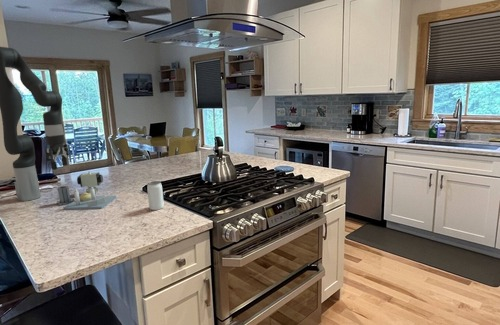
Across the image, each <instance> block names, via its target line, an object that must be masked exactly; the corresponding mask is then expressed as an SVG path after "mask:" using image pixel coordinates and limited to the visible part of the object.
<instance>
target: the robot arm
mask: <svg viewBox="0 0 500 325" xmlns="http://www.w3.org/2000/svg"><path fill="white" fill-rule="evenodd" d="M6 68H12V69H13V68H14V70H16V71H18V72H19V80H20V82H21V83H22V85H23V86H24V87H25V88H26V89H27V90H28V91H29V92H30V93H31V95H32V97H33V99H34V101H35V103H36V104H37V105H38V106H39V107H44V108H46V107H47V108H49V107H50V109H49V110H48V111H46V112H45V111H44V113H42V120H43V126H44V134H45V140H46V142H45V143H46V145H48V146H49V147H48V148H45V149H44V151H45V159H46V162H49V163H50V166H51V170H57V169H58V164H57V159H58V157H60V158H61V164H62V166H63V167H64V166H68V157H69V156H70V151H69V147H68V146H69V145H68V143H66V139H65V133H64V128H63V124H62V118H61V112H62V107H63V106H62V105H63V97H62V95H61V94H60V92H58V91H56V90H47V86H46V85H47V84H45V83H44V82H43V80H42V79H40V77H38V76H37V74H35V72H34V71H33V70H32V69H31V68H30V67H29V65H28V64H27V62H26V60H25V59H24V58H23V56H22V55H21V54H20V52H18V50H17V49H15V48H12V47H6V46H0V114H1V121H2V129H3V131H2V132H3V145H4V149H5V151H6V153H8V154H9V155H11V156H16V155H17V156H18V158H16V160H14V161H12V168H13V172H14V178H15V181H14V183H13V184H14V187H15V188H14V189H15V193H16V197H17V201H20V202H27V201H28V202H29V201H33V200H37V199H40V198H41V191H40V184H39V178H38V174H37V173H38V172H37V168H36V153H35V152H36V151H35V144H34V141H33V139H32V138H31V136H30V135H27V134H19V135H18V124H19V121H20V119H21V117H22V115H23V111H24V102H23V98H22V95H21V92H19V89H17V87H16V86H15V85H14V84H13V83H12V82H11V80H10V78H9V77H8V73H7V71H6Z"/></svg>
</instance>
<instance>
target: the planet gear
mask: <svg viewBox="0 0 500 325" xmlns="http://www.w3.org/2000/svg"><path fill="white" fill-rule="evenodd" d="M57 194H58V199H59V200H57V201H56V202H55V205H56V206H67V205H69V204H70V203H72V202H74V201H75V198H71V196H70V190H69V186H67V185H63V186H58V187H57Z"/></svg>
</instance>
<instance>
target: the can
mask: <svg viewBox="0 0 500 325" xmlns="http://www.w3.org/2000/svg"><path fill="white" fill-rule="evenodd" d="M146 189H147V198H148V207H149V210H151V211H158V210H161V209H163V208H164V207H165V204H164V193H163V186H162V183H161V181H160V180H156V181H155V180H154V181H153V180H152V181H149V182H148V183H147V188H146Z"/></svg>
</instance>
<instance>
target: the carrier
mask: <svg viewBox="0 0 500 325" xmlns="http://www.w3.org/2000/svg"><path fill="white" fill-rule="evenodd" d="M90 192H91V194H90V193H86V192H84V193H82V194H80V193H79V190H78V189H77V188H75V189H74V192H73V196H74V202H72V203H70V204H68V205H64V206H63V207H62V210H64V211H66V210H69V211H70V210H96V209H97V210H102V209H104V207H106V206H108V205H109V204H110V203H111V202H113V201H114V200H115V199H117V195H109V194H108V195H98V196H96V193H95V191H94V189H93V187H91V189H90Z"/></svg>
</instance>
